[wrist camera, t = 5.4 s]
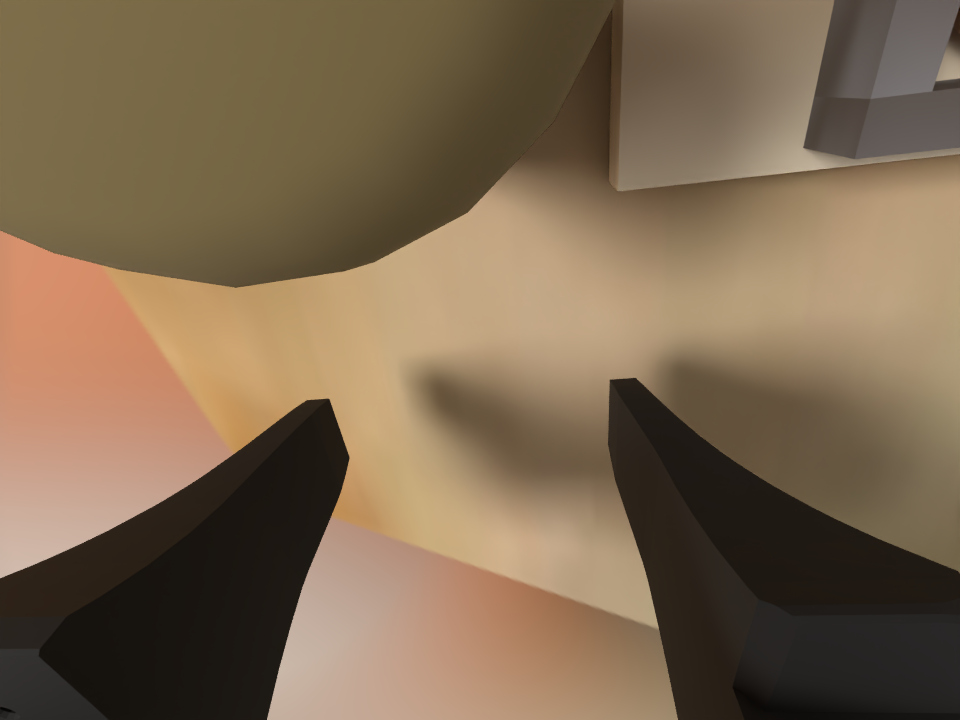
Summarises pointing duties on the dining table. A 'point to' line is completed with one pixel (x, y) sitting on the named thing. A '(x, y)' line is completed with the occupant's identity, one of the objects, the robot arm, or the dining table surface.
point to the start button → (957, 21)
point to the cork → (269, 124)
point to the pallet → (778, 87)
